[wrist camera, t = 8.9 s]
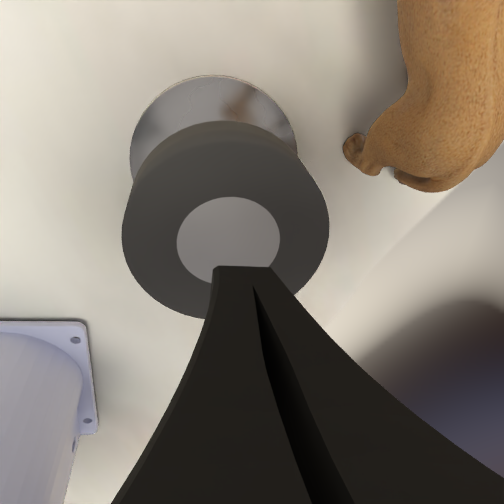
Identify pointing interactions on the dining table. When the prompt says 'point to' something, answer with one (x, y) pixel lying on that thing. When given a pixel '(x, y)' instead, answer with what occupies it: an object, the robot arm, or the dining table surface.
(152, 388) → the dining table surface
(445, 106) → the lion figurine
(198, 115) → the axle mount
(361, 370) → the robot arm
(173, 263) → the wheel
